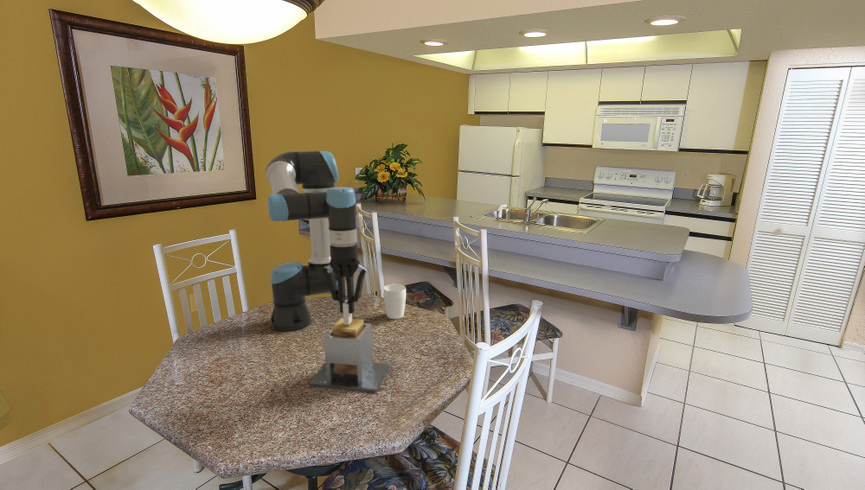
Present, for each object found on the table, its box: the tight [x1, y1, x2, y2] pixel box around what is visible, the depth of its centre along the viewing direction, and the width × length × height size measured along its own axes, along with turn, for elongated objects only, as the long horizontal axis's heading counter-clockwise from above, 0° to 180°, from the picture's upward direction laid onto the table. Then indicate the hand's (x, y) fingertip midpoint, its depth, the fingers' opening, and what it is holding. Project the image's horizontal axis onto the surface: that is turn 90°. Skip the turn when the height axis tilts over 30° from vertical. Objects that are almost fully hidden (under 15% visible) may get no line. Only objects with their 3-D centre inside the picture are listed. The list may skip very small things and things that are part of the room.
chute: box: [308, 322, 390, 394], centre depth 126 cm, size 20×14×15 cm
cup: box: [382, 283, 407, 320], centre depth 170 cm, size 9×9×12 cm
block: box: [331, 317, 365, 375], centre depth 125 cm, size 7×7×14 cm
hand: (348, 323), depth 124 cm, fingers closed
